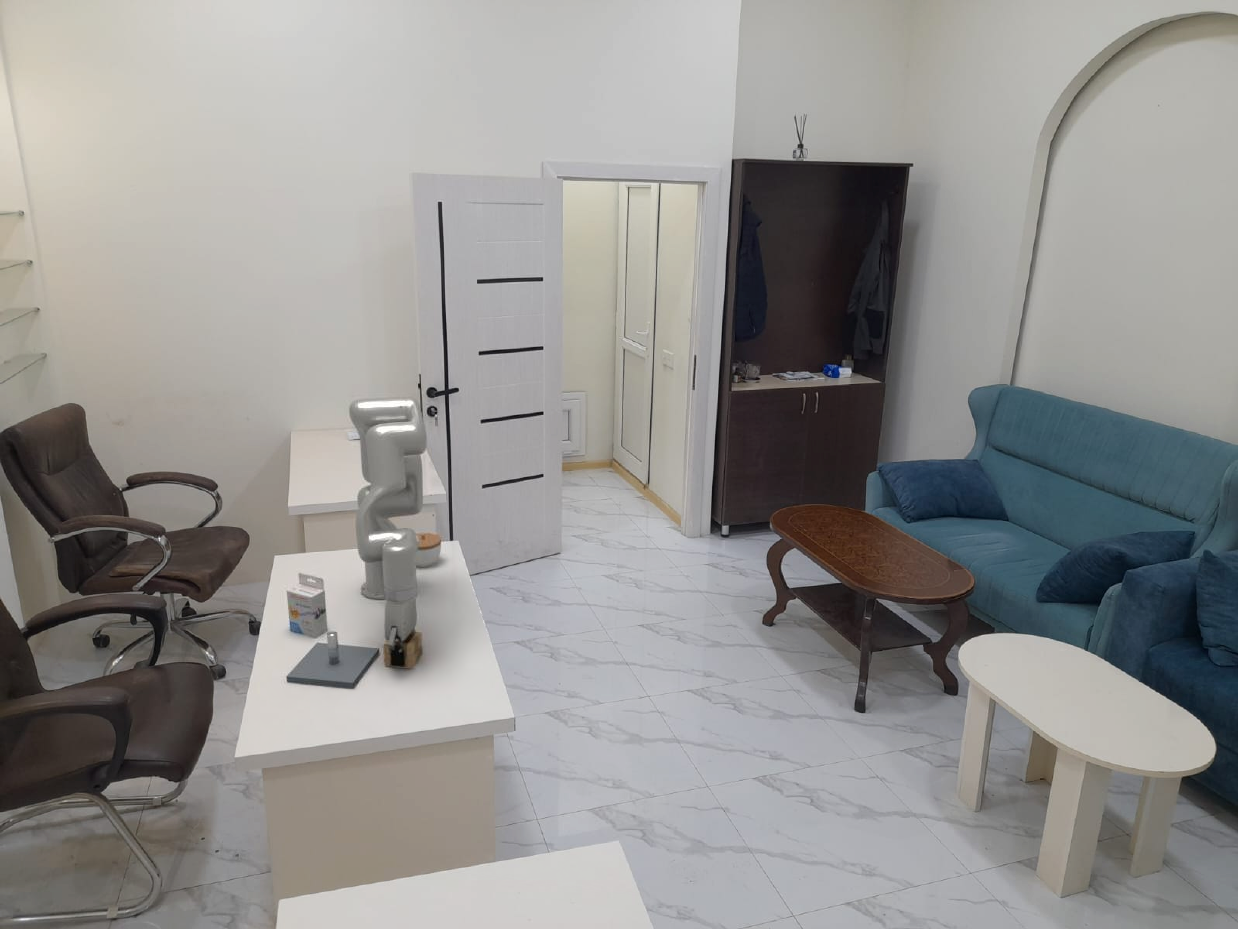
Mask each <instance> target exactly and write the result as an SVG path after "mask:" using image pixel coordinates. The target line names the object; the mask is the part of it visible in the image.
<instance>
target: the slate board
mask: <svg viewBox="0 0 1238 929" xmlns="http://www.w3.org/2000/svg"><path fill="white" fill-rule="evenodd" d="M338 648H339V663H337V664H334V665H332V664H329V657H328V644H327V642H326V643H325V642H316V643H315V644H314V645H313V646H312V647H311V649H310V650H309V651H308V652H307V653H306V654H305V655H304V657H302V658H301V660H299V662H298V663H296V665H295V666H294V667H293V668H292V670H290V672H289V673H288V674H287V675H286V676H285V678H286V682H287V683H293V684H304V685H312V686H313V685H314V686H325V687H332V688H343V689H354V688H355V687H356V686H357V684H358V683H359V682H360V680H361V679H362V678H363V676H364V675H365V674H366V672H367V671H368V670H369V668H370V667H371V666H372V664H373V663H374V661H375V660H376V659H377V658H378V656H379V655H380V648H378V647H372V646H371V647H369V646H359V645H348V644H338Z"/></svg>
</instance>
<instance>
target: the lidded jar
mask: <svg viewBox="0 0 1238 929" xmlns="http://www.w3.org/2000/svg"><path fill="white" fill-rule="evenodd" d="M416 534H417V536H418V540H419V545H418V550H417V552H416V556H415V563H416V568H417V567H419V568H428V567H432V566H433V565H434V564H435V562H436V561H437V560H438V559H439V558H440V554H441V550H442V538H441V536H439V535H438V534H435V533H431V532H430V533H428V532H422V533H421V532H420V533H416Z"/></svg>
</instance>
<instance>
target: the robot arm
mask: <svg viewBox="0 0 1238 929" xmlns="http://www.w3.org/2000/svg"><path fill="white" fill-rule="evenodd" d="M348 411H349V417H350V420H351V422H352V425H353V427H354V428H355V429H356V431H357V433H358V436H359V444H360V445H359V446H360V462H361V471H362V472H361V474H362V477H363V479H364V480H365V481H366V482H367V483H370V484H369V485H366V486H364V487H362V488H360V490H359V491H358V493H357V496H356V497H357V506H358V509H357V513H356V515H355V532H356V533H355V535H356V546H357V553H358V555H359V558H360V559H361V561H363V562H364V569H365V570H364V572H365V582H364V583H362V585H361V586H360V593H361V594H362V595H363V596H364V597H366V598H368V599H372V600H373V599H374V600H385V605H384V639H385V641H386V640H389V642H388V647H389V649H390V652H391V665H393V666H404V665H405V657H404V651H403V643H404V640H405V639H406V638H407V637H408V636H409V634H410V633H411V631H415V632H416V628H415V627H416V625H417V621H418V617H417V616H418V614H417V612H418V611H417V600H416V599H417V596H418V590H417V589H418V588H417V586H418V585H417V569H416V568H417V566H416V563H415V556H416V552H417V550H418V545H419V540H418V536H417V534H418V533H416V531H415V530H414V529H412V528H409V527H408V528H407V527H406V528H403V527H402V528H397V527H396V525H395V523H393V522H392V520H390V519H391V518H392V519H393V518H398V517H399V518H400V517H409V516H414V515H418V514H419V513H421V511H422V510H423V506H424V486H423V485H424V482H423V481H424V480H423V472H424V471H423V460H422V456H421V455H423V454H424V453H425V452H426V449H427V445H428V438H427V437H428V436H427V430H426V425H425V421H424V418H423V414H422V410H421V406H420V404H419V401H418V400H417V399H415V398H414V397H410V396H399V397H398V396H397V397H374V398H361V399H355V400H354V401H352V402H351V403H350V405H349V408H348ZM397 636H399V637H401V639H397V638H396V637H397ZM395 641H398V642H400V645H399V646H398V645H396V643H395Z"/></svg>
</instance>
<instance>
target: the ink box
mask: <svg viewBox="0 0 1238 929" xmlns="http://www.w3.org/2000/svg"><path fill="white" fill-rule="evenodd" d="M297 574H298V581H299V582H298V584H296V585H294V586H291V587H290V588H287V589H286V597H287V609H288V610H287V611H288V619H289V630H290V631H291V632H294V633H297V634H301V635H304V636H308V637H311V638H314V639H315V638H317V637H319V636H321V635H322V634H324V633H325V632H326V631H328V617H327V604H326V593H325V592H326V591H325V583H324V579H323V578H322V577H318V576H315V575H311V574H306V573H304V572H303V573H302V572H298V573H297ZM310 579H311V580H312V581H310Z"/></svg>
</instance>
